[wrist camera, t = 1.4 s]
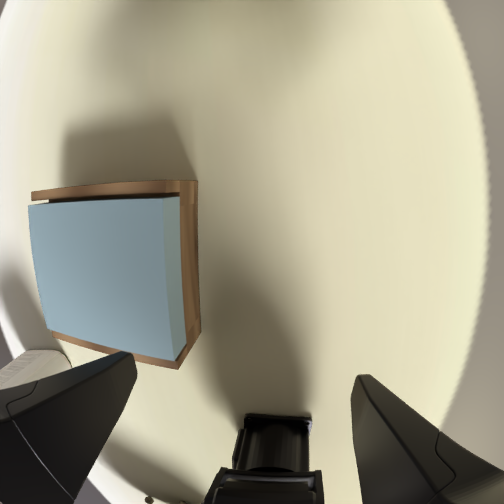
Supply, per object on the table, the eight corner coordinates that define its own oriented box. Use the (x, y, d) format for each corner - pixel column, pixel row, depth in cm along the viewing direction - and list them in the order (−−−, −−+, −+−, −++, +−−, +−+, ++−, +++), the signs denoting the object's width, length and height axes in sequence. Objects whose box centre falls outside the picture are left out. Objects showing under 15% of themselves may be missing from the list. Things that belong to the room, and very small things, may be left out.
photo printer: (38, 373, 29) (-14, 418, 17) (24, 347, 28) (-33, 389, 16) (79, 377, 27) (19, 437, 15) (63, 346, 26) (-6, 402, 14)
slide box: (197, 180, 20) (166, 180, 15) (201, 331, 23) (178, 369, 17) (75, 187, 21) (31, 191, 16) (87, 312, 24) (53, 337, 19)
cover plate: (179, 196, 17) (163, 198, 14) (186, 342, 19) (174, 361, 17) (48, 202, 18) (28, 205, 16) (64, 317, 20) (47, 328, 18)
